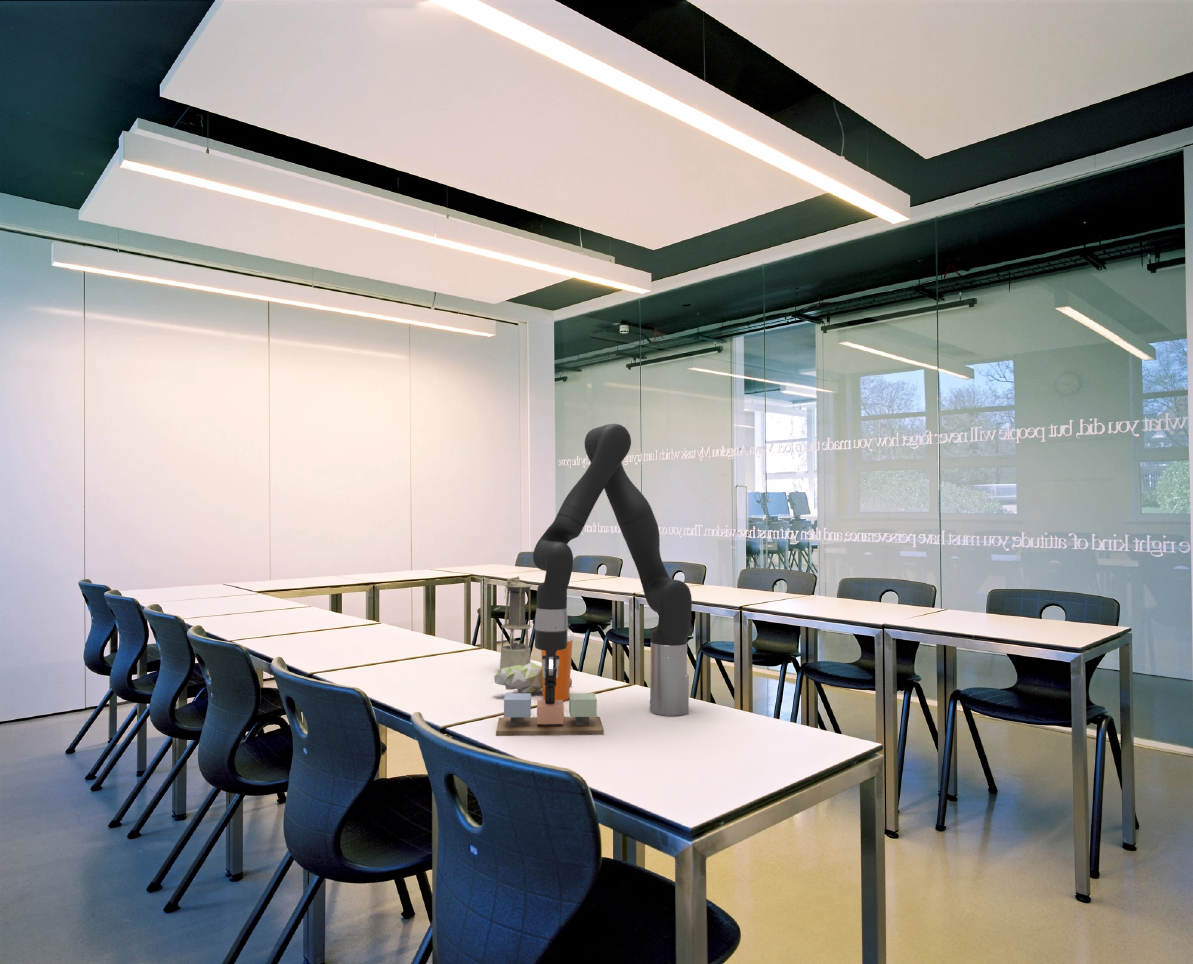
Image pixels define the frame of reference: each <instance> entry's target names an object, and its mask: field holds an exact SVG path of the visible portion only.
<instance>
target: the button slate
mask: <svg viewBox="0 0 1193 964" xmlns="http://www.w3.org/2000/svg"><path fill="white" fill-rule="evenodd" d="M503 699H504V700H503V717H532V716H531V712H532V709H531V707H532V693H518V692H517V693H510V692H509V693H504V698H503Z"/></svg>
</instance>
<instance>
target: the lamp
mask: <svg viewBox="0 0 1193 964" xmlns="http://www.w3.org/2000/svg"><path fill="white" fill-rule="evenodd" d="M520 579H521V577H520V576H517V577H511V578H510V577H509V578H508V579H507V580H506V584H504V587H505V588H504V600H505V599H506V601H505V614H504V624H501V629H502V632H501V639H500V640H501V646H500V659H499V670H498V672H499V671H500V670H501V669H502V668H505V667H511V666H516V665H521V666H524V665H527V664H529V663H531V647H530V646H529V629H530V628H532V625H531V613H532V611H531V587H532V585H531V584H530V585H529V584H526V583H525V582H523V581H520ZM526 592H527V597H528V598H527V600H528V604H527V605H528V606H527V609H528V624H526ZM494 596H495V595H494ZM501 607H502V605H501V606H499V607H496V608H494V609H493V611H497V610H499V609H500V608H501ZM503 629H506V630H509V645H504V630H503ZM515 630H516V631H517V630H518V631H519V630H520V631H522V630H525V633H524V635H525V643H518V642H514V632H515ZM498 672H497V673H498Z"/></svg>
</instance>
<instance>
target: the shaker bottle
mask: <svg viewBox="0 0 1193 964" xmlns="http://www.w3.org/2000/svg"><path fill="white" fill-rule="evenodd" d="M570 626H571V624H570V623H568V628H567V648H566V649H563V650H557V651H556V656H559V666H558V677H557V678H556V687H555V700H563V702H564V701H568V700H569V693H570V689H571V688H570V687H571V686H570V678H571V669H572V668H571V667H572V655H573V654H572V653H573V652H572V651H573V642H574V633H573V631H572V630H571V629H570V628H569V627H570ZM540 652H541V653H540V654H541V657H542V655H546V651H545V650H540ZM541 667H542V689H541V690H542V700H545V686H544V682H545V680H544V677H543V665H542V664H541Z"/></svg>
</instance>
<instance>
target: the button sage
mask: <svg viewBox="0 0 1193 964" xmlns="http://www.w3.org/2000/svg"><path fill="white" fill-rule="evenodd" d="M568 700H569V701H568V703H569V704H568V712H569V717H598V716H597V712H598V711H597V708H598V706H597V704H598V703H597V702H598V701H597V700H598V699H597V696H596V693H594V692H584V693H583V692H579V693H578V692H577V693H576V692H569V699H568Z"/></svg>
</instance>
